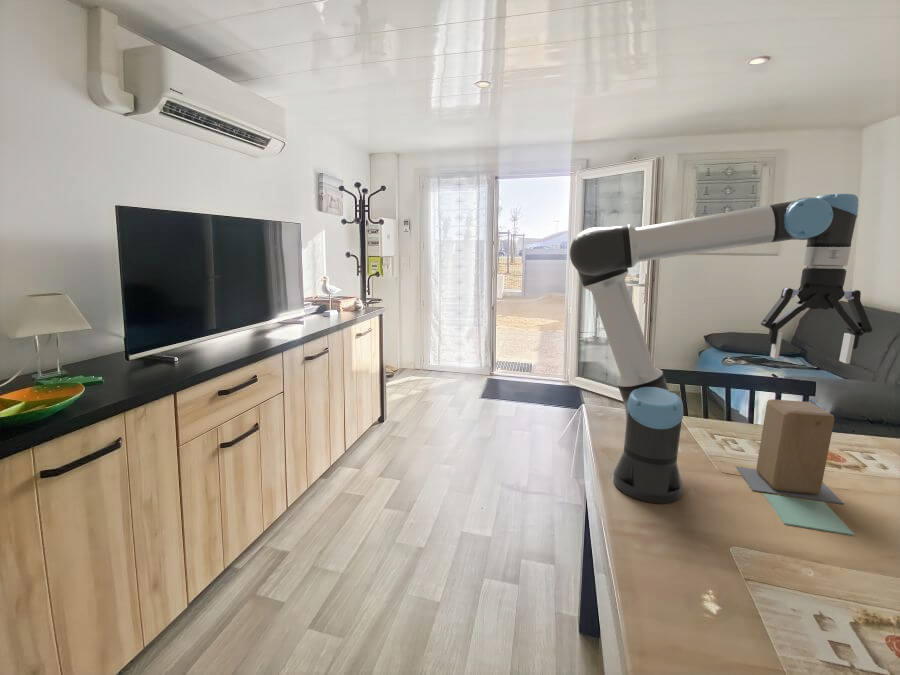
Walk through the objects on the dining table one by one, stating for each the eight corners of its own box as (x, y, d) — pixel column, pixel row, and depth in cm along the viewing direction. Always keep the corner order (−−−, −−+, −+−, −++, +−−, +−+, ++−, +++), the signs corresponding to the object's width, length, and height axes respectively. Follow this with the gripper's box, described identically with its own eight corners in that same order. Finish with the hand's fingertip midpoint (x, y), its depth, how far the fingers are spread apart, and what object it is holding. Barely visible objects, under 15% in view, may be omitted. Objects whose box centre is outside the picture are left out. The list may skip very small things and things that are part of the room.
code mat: (751, 490, 105) (752, 489, 105) (736, 467, 116) (736, 466, 116) (843, 504, 99) (843, 502, 99) (817, 478, 111) (818, 477, 111)
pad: (784, 524, 92) (784, 522, 92) (763, 494, 103) (763, 493, 103) (854, 535, 88) (854, 534, 88) (824, 503, 100) (824, 502, 100)
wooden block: (821, 496, 102) (837, 415, 98) (773, 491, 104) (787, 411, 100) (797, 475, 112) (811, 400, 108) (753, 471, 113) (765, 397, 110)
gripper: (765, 266, 97) (751, 359, 102) (906, 269, 90) (885, 368, 94) (753, 265, 104) (741, 352, 109) (883, 267, 97) (865, 360, 101)
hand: (808, 360), depth 101 cm, fingers open, 13 cm apart
